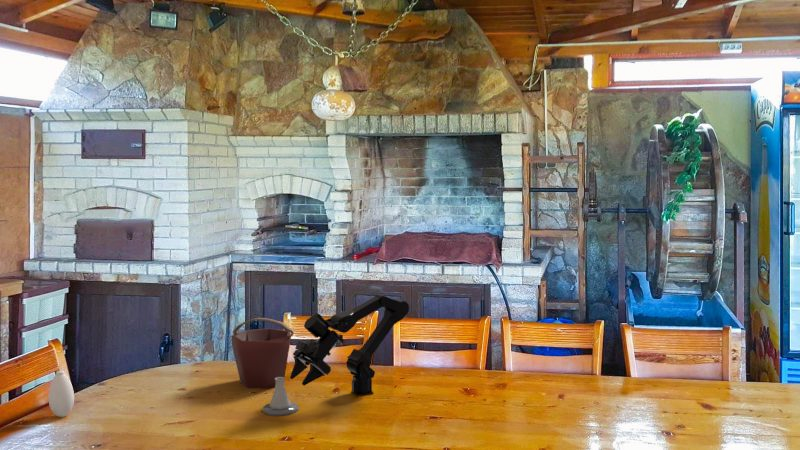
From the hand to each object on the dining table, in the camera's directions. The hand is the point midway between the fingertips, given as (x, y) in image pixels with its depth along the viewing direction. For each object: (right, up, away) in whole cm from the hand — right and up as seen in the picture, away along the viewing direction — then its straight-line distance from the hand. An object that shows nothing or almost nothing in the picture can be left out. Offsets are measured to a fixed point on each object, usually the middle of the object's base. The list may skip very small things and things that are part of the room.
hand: (296, 381), depth 260 cm
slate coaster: (-5, -9, -3) cm, 11 cm away
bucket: (-17, -7, +29) cm, 34 cm away
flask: (-5, -8, -3) cm, 10 cm away
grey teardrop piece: (-78, -10, -7) cm, 79 cm away
